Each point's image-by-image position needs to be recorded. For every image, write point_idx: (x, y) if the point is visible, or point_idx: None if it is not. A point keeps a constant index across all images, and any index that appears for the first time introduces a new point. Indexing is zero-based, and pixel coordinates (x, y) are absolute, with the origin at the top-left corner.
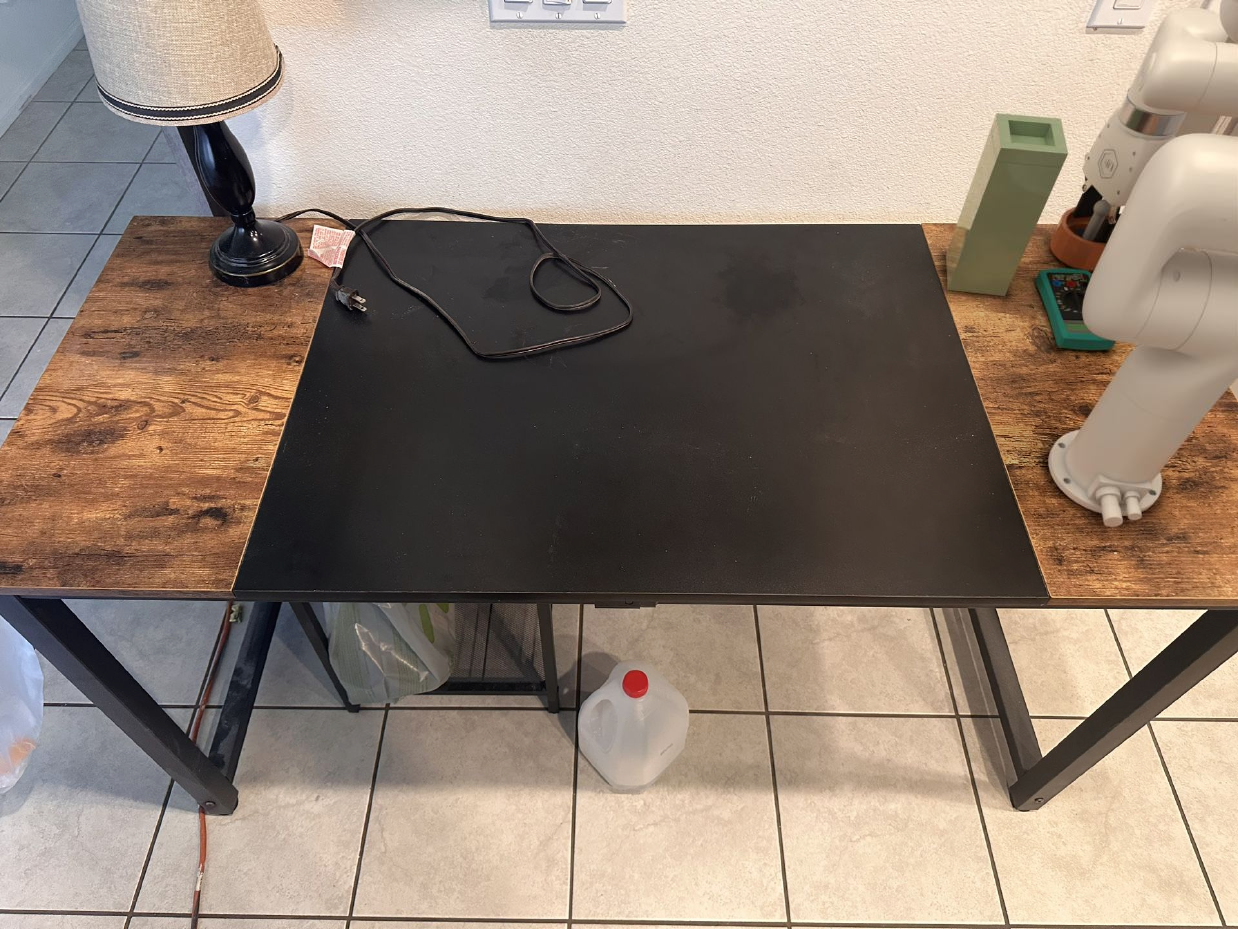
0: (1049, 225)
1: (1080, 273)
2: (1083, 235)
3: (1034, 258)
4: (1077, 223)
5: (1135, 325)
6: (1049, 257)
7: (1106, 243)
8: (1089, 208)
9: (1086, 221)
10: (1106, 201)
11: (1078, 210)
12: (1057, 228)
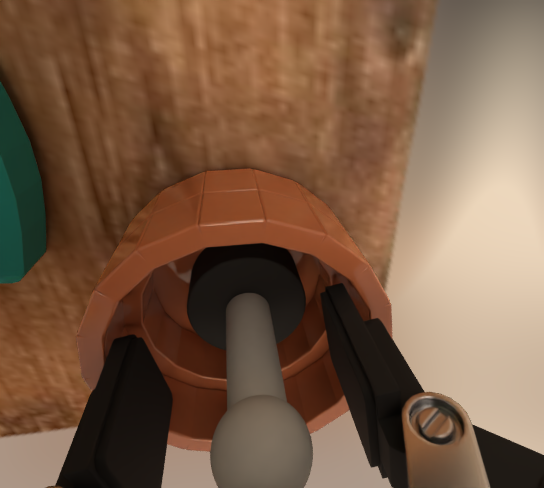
0: (396, 200)
1: (31, 244)
2: (249, 298)
3: (185, 88)
4: None
5: None
6: (200, 157)
7: None
8: (339, 366)
9: None
10: None
11: (332, 319)
12: (275, 201)
